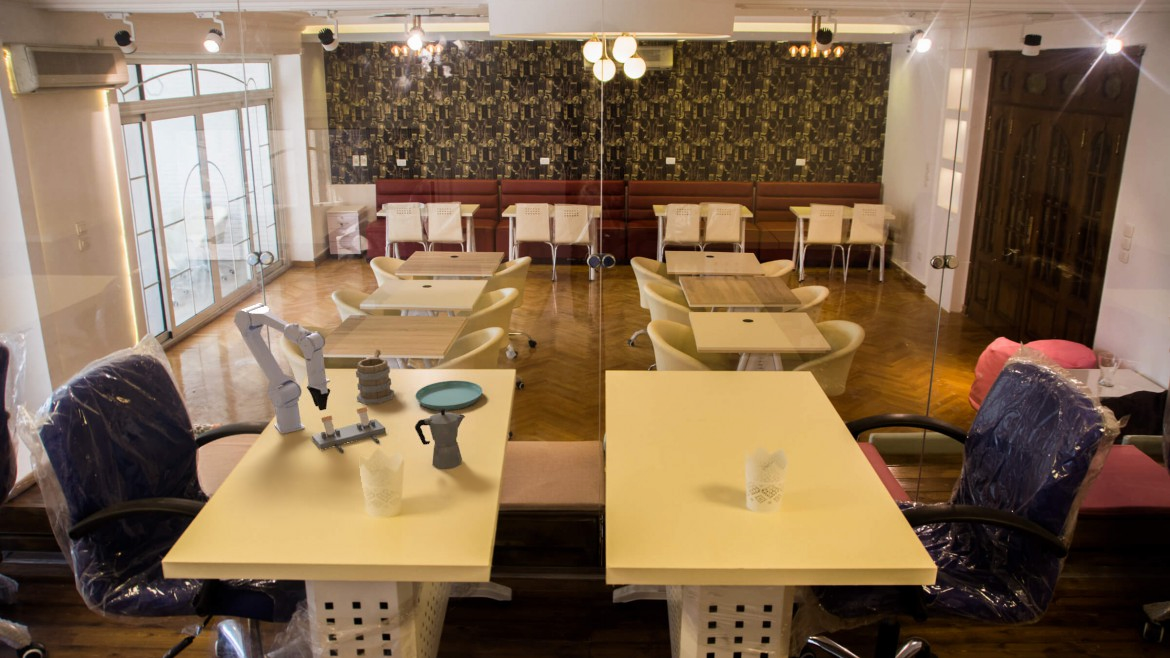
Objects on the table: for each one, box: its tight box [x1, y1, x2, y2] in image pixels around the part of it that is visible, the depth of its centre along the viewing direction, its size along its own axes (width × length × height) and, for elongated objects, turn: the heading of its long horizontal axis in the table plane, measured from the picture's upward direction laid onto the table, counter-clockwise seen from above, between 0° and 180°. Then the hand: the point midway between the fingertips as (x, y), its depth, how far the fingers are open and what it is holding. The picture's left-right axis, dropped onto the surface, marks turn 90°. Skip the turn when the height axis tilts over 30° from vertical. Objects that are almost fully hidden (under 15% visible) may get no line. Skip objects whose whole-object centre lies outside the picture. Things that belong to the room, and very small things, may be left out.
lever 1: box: [320, 415, 335, 437], centre depth 295 cm, size 2×3×6 cm, turn 121°
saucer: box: [414, 380, 483, 411], centre depth 327 cm, size 24×24×3 cm
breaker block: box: [311, 419, 387, 454], centre depth 295 cm, size 16×22×4 cm
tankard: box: [355, 349, 395, 405], centre depth 333 cm, size 20×13×15 cm, turn 179°
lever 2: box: [356, 406, 370, 428], centre depth 301 cm, size 2×3×6 cm, turn 121°
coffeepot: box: [414, 409, 466, 470], centre depth 274 cm, size 15×9×18 cm, turn 110°
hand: (320, 407), depth 299 cm, fingers open, 4 cm apart
